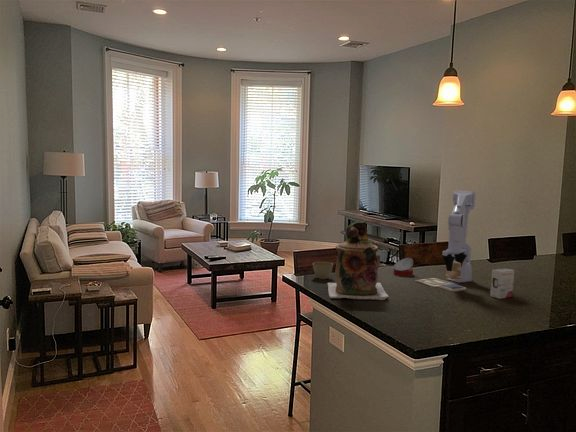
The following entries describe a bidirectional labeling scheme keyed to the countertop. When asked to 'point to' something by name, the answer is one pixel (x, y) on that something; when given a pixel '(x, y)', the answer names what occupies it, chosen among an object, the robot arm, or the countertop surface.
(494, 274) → the ink box
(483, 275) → the countertop surface
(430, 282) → the marked board
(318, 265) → the flower pot
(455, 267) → the stamp
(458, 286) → the ink pad
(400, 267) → the canned food
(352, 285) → the cookie jar
